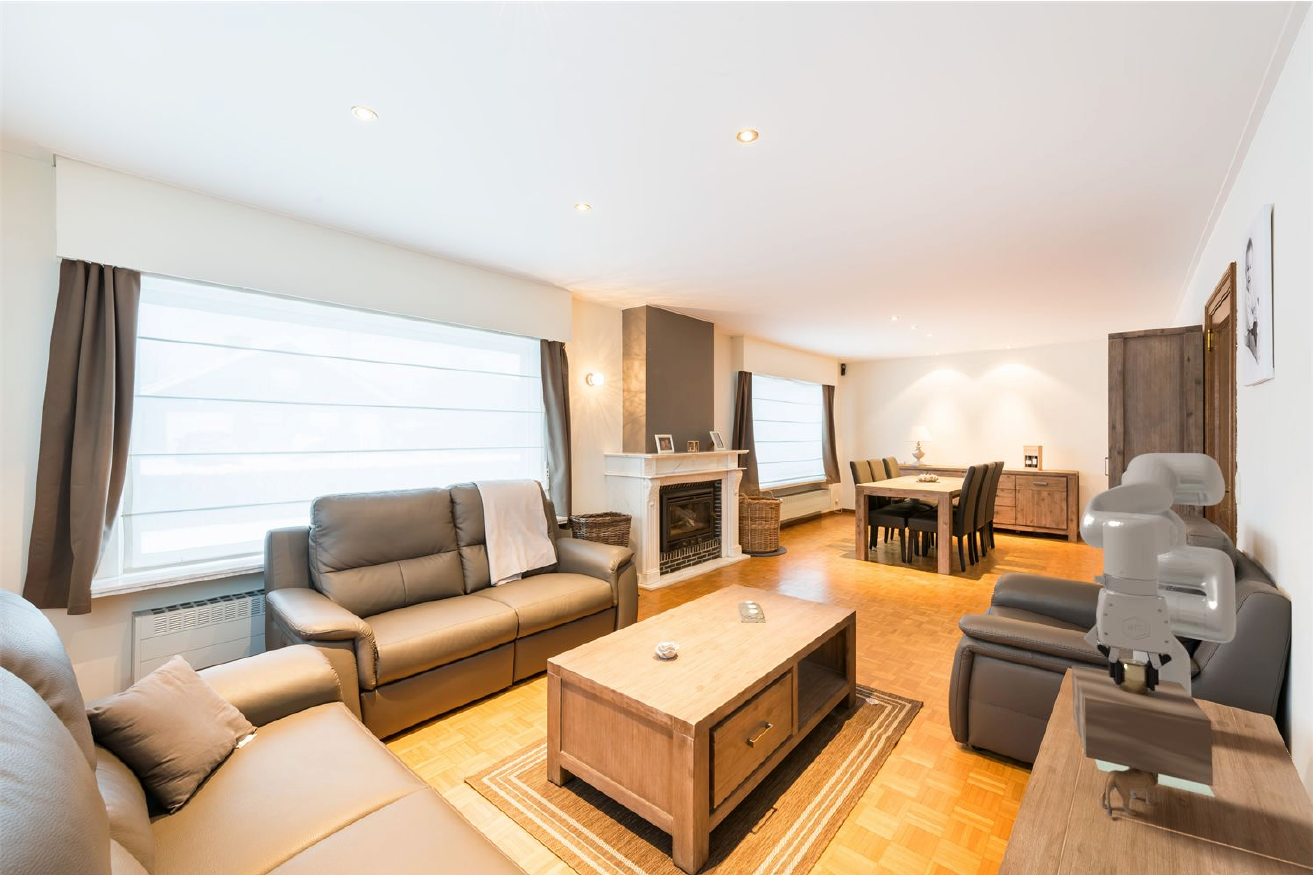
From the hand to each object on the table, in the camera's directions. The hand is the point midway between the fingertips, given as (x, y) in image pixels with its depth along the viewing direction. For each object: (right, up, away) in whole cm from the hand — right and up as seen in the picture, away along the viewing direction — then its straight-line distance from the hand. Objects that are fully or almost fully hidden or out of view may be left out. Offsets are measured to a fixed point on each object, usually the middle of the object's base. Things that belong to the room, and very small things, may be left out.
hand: (1133, 683), depth 98 cm
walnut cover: (0, -12, 0) cm, 12 cm away
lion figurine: (-2, -22, -1) cm, 22 cm away
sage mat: (+12, -21, +11) cm, 27 cm away
